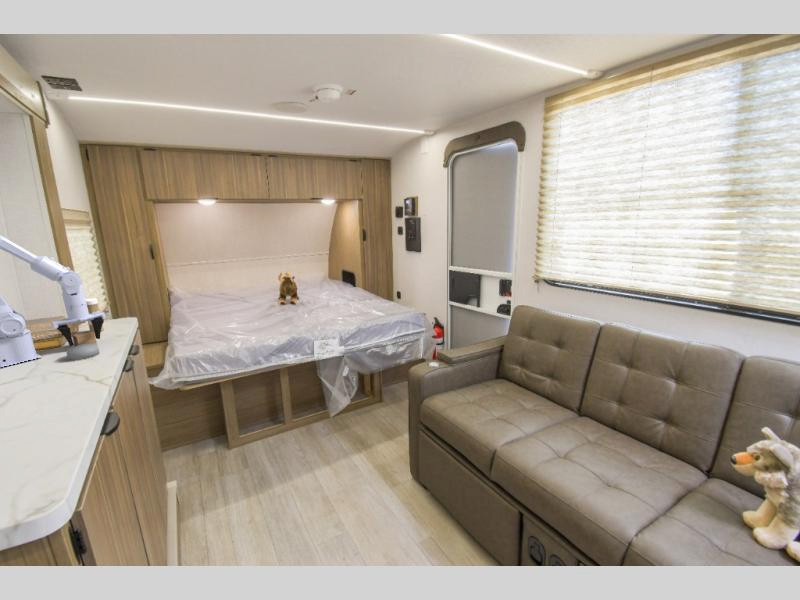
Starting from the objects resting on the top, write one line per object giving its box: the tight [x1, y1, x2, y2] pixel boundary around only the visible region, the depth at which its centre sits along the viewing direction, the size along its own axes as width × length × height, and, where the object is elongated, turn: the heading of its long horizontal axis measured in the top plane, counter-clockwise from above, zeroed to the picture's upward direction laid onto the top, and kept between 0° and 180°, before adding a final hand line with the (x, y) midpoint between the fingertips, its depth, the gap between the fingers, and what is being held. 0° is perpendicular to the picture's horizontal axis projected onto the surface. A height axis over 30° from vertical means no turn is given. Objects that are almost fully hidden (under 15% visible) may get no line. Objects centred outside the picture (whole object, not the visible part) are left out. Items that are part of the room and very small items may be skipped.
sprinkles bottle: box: [85, 297, 104, 334], centre depth 147 cm, size 5×5×14 cm
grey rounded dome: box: [65, 343, 100, 361], centre depth 122 cm, size 8×8×3 cm
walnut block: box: [71, 330, 98, 347], centre depth 131 cm, size 5×5×5 cm
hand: (85, 341), depth 131 cm, fingers open, 7 cm apart
